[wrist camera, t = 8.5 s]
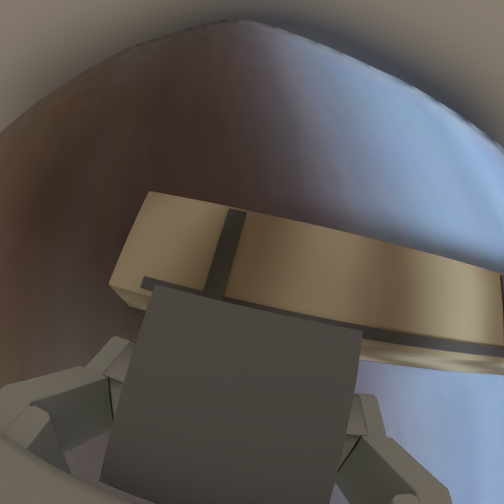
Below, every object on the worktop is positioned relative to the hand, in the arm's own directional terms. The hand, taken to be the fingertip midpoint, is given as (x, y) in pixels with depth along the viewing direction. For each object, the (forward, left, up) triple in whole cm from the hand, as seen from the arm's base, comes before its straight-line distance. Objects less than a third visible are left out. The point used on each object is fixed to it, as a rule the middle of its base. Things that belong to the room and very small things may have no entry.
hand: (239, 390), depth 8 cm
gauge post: (0, +1, -5) cm, 5 cm away
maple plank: (-6, -5, -7) cm, 10 cm away
